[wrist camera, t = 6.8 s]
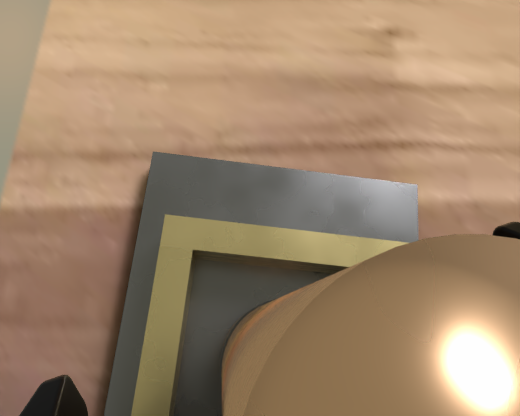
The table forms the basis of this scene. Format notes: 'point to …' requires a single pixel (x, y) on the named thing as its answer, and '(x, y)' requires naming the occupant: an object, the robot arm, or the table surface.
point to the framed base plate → (233, 265)
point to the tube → (387, 337)
